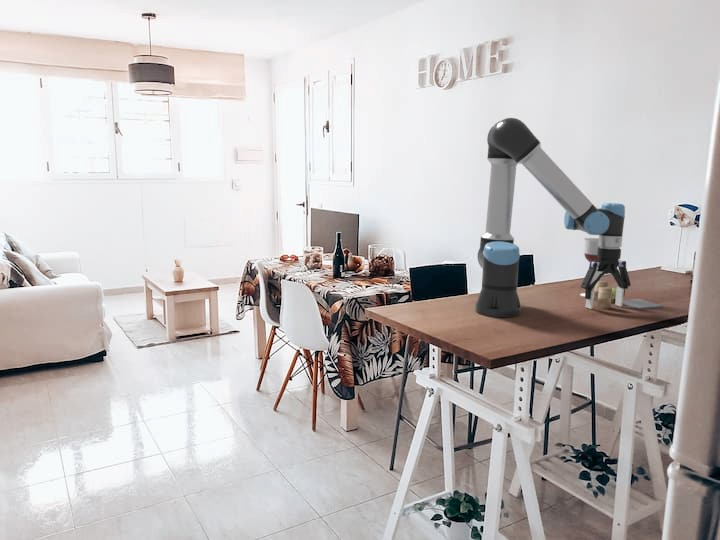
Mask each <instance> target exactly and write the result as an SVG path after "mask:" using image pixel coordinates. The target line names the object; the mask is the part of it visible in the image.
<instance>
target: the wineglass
mask: <svg viewBox="0 0 720 540" xmlns="http://www.w3.org/2000/svg"><path fill="white" fill-rule="evenodd" d="M598 241H599V237H598V238H597V237H596V238H595V237H593V238H592V237H589V238H587V237H585V238H583V255H584V258H585V259H586V260H587V261H588V262H589V263H590V262H591V261H592V262H598V257H597V253H598V248H599V247H600V246H598ZM592 290H593V291H594V288H593V289H592ZM579 296H581V297H584V298H585V292H584V293H580V294H579ZM593 299H594V297H593Z"/></svg>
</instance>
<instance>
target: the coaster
mask: <svg viewBox="0 0 720 540" xmlns="http://www.w3.org/2000/svg"><path fill="white" fill-rule="evenodd" d="M622 306H626V307H630V308H632V309H636V310H646V309H659V308H661V309H662V307H663V305H661V304H658V303H654V302H651V301H649V300H648V301H647V300H644V299H640V298H634V299H633V298H632V299H623V304H622Z"/></svg>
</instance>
